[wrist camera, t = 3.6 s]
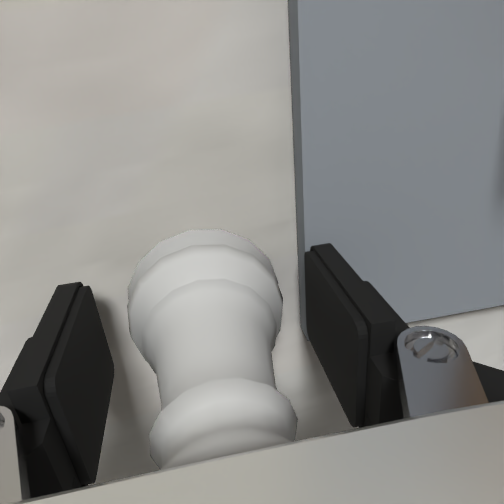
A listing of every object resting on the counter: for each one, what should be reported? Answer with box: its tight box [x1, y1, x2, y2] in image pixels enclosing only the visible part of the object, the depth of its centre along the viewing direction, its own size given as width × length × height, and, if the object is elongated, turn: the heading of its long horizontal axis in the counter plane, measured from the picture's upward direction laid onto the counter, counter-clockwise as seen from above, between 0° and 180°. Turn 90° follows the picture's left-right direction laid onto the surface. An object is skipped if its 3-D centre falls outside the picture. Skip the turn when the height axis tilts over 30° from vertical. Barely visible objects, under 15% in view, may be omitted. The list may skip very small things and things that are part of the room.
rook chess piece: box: [127, 229, 298, 470], centre depth 9 cm, size 4×4×8 cm
